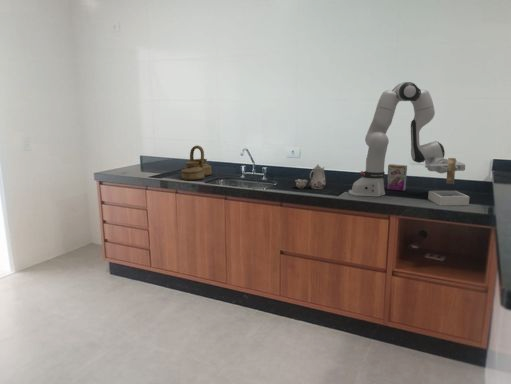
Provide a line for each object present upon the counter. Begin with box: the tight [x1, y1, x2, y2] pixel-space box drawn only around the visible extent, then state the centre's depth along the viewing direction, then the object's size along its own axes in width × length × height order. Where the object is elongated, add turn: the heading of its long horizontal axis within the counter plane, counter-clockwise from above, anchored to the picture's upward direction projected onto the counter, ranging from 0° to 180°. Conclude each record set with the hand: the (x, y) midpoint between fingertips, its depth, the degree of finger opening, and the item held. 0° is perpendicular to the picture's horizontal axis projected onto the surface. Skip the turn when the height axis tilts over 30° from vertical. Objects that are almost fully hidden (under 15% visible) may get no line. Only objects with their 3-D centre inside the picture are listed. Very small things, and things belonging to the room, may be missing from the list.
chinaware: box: [294, 163, 327, 190], centre depth 282 cm, size 28×17×17 cm, turn 134°
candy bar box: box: [386, 163, 408, 192], centre depth 271 cm, size 11×5×16 cm, turn 55°
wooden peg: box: [446, 157, 457, 185], centre depth 234 cm, size 4×4×14 cm
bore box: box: [427, 190, 470, 207], centre depth 237 cm, size 16×16×5 cm
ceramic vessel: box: [180, 145, 213, 181], centre depth 322 cm, size 34×18×25 cm, turn 169°
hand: (451, 169), depth 233 cm, fingers closed on wooden peg, 4 cm apart
